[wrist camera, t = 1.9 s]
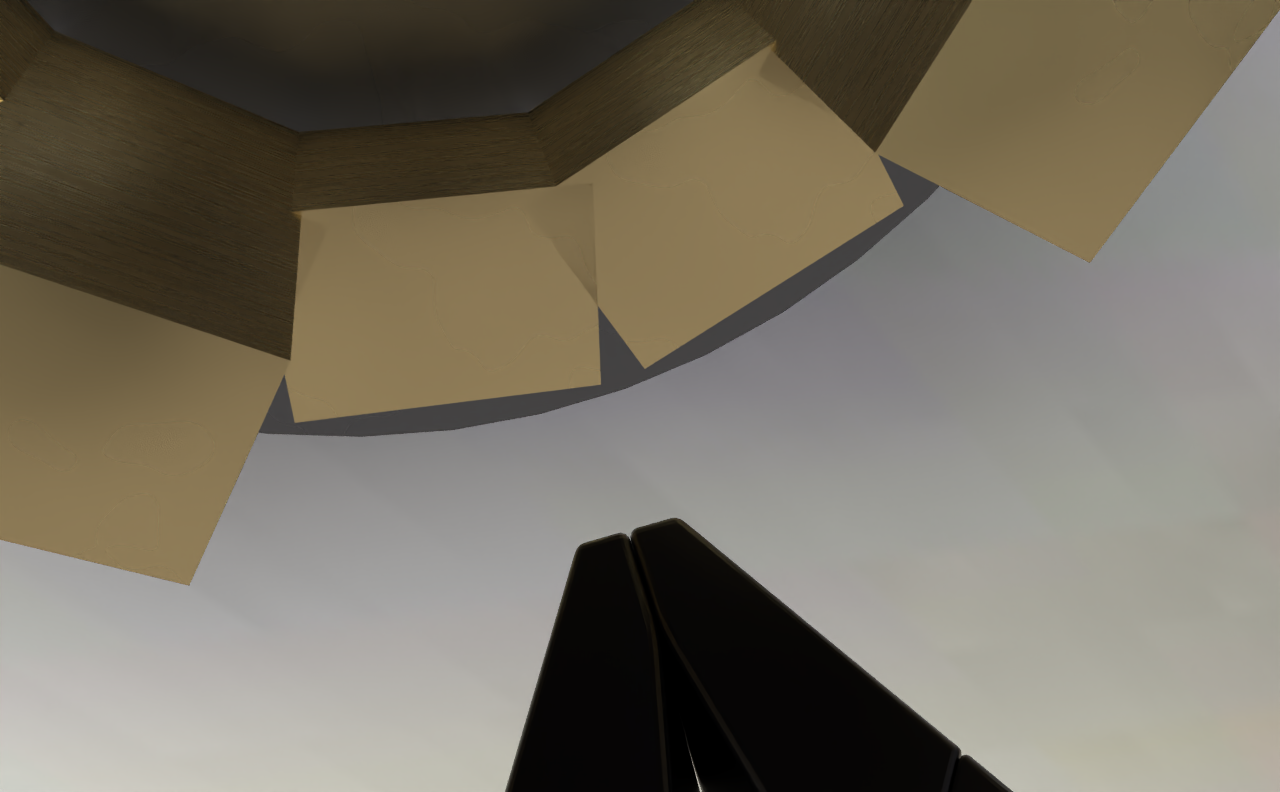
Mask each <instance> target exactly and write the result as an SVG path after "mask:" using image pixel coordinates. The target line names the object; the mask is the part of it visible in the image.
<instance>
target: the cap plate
mask: <svg viewBox="0 0 1280 792" xmlns="http://www.w3.org/2000/svg"><path fill="white" fill-rule="evenodd" d="M27 1H28V3H29V4H30V5H31V6H32V7H33V8H34V9H35V10H36V11H37V12H38V13H39V14H40V15H41V17H42V18H43V19H44V20H45V21H46V22H47V23H48V24H49V25H50V26H51V27H52V28H53V29H54V30H55V31H56V32H59V33H61V34H64V35H66V36H69V37H71V38H73V39H76V40H78V41H81V42H83V43H85V44H88V45H90V46H93V47H95V48H98V49H100V50H102V51H105V52H107V53H110V54H112V55H114V56H117V57H119V58H122V59H124V60H126V61H129V62H131V63H134V64H136V65H139V66H141V67H143V68H146V69H148V70H151V71H153V72H155V73H158V74H160V75H163V76H165V77H168V78H170V79H172V80H175V81H177V82H180V83H182V84H184V85H187V86H189V87H192V88H194V89H196V90H199V91H201V92H204V93H206V94H209V95H211V96H213V97H216V98H218V99H221V100H223V101H225V102H228V103H230V104H233V105H235V106H237V107H240V108H242V109H245V110H247V111H250V112H252V113H254V114H257V115H259V116H262V117H264V118H266V119H269V120H271V121H274V122H276V123H279V124H281V125H283V126H286V127H288V128H291V129H293V130H295V131H298V132H304V131H316V130H328V129H339V128H351V127H363V126H374V125H386V124H398V123H409V122H421V121H433V120H444V119H456V118H468V117H479V116H491V115H503V114H514V113H526V112H529V111H531V110H532V109H534V108H535V107H537V106H538V105H540V104H541V103H542V102H544V101H545V100H547V99H548V98H550V97H551V96H553V95H554V94H556V93H557V92H559V91H560V90H562V89H563V88H565V87H566V86H568V85H569V84H571V83H572V82H574V81H575V80H577V79H578V78H580V77H581V76H583V75H584V74H585V73H587V72H588V71H590V70H591V69H593V68H594V67H596V66H597V65H599V64H600V63H602V62H603V61H605V60H606V59H608V58H609V57H611V56H612V55H614V54H615V53H617V52H618V51H620V50H621V49H623V48H624V47H626V46H627V45H628V44H630V43H631V42H633V41H634V40H636V39H637V38H639V37H640V36H642V35H643V34H645V33H646V32H648V31H649V30H651V29H652V28H654V27H655V26H657V25H658V24H660V23H661V22H663V21H664V20H666V19H667V18H669V17H670V16H671V15H673V14H674V13H676V12H677V11H679V10H680V9H682V8H683V7H685V6H686V5H688V4H689V3H691V2H692V1H694V0H27ZM879 157H880V159H881V161H882V163H883V165H884V167H885V169H886V171H887V173H888V175H889V177H890V179H891V181H892V183H893V185H894V187H895V189H896V191H897V193H898V195H899V197H900V199H901V201H902V203H903V205H904V206H903V207H901V208H899V209H898V210H896V211H895V212H893V213H891V214H890V215H888V216H887V217H885V218H884V219H882V220H880V221H879V222H877V223H876V224H874V225H872V226H871V227H869V228H868V229H866V230H865V231H863V232H861V233H860V234H858V235H857V236H855V237H853V238H852V239H850V240H849V241H847V242H845V243H844V244H842V245H841V246H839V247H838V248H836V249H834V250H833V251H831V252H830V253H828V254H826V255H825V256H823V257H822V258H820V259H818V260H817V261H815V262H814V263H812V264H811V265H809V266H807V267H806V268H804V269H803V270H801V271H799V272H798V273H796V274H795V275H793V276H792V277H790V278H788V279H787V280H785V281H784V282H782V283H780V284H779V285H777V286H776V287H774V288H772V289H771V290H769V291H768V292H766V293H765V294H763V295H761V296H760V297H758V298H757V299H755V300H753V301H752V302H750V303H749V304H747V305H746V306H744V307H742V308H741V309H739V310H738V311H736V312H734V313H733V314H731V315H730V316H728V317H726V318H725V319H723V320H722V321H720V322H719V323H717V324H715V325H714V326H712V327H711V328H709V329H707V330H706V331H704V332H703V333H701V334H699V335H698V336H696V337H695V338H693V339H692V340H690V341H688V342H687V343H685V344H684V345H682V346H680V347H679V348H677V349H676V350H674V351H673V352H671V353H669V354H668V355H666V356H665V357H663V358H661V359H660V360H658V361H657V362H655V363H653V364H652V365H650V366H649V367H647V368H646V369H644V367H643V366H642V365H641V363H640V362H639V361H638V359H637V358H636V357H635V355H634V354H633V352H632V351H631V350H630V348H629V347H628V346H627V344H626V343H625V342H624V340H623V339H622V338H621V336H620V335H619V334H618V332H617V331H616V329H615V328H614V327H613V325H612V324H611V323H610V321H609V320H608V319H607V317H606V316H605V315H604V313H603V312H602V311H601V309H600V308H599V307H598V323H599V348H600V374H601V385H594V386H586V387H578V388H570V389H562V390H554V391H546V392H538V393H530V394H522V395H514V396H506V397H498V398H490V399H482V400H474V401H466V402H458V403H450V404H442V405H434V406H426V407H417V408H409V409H401V410H393V411H385V412H377V413H369V414H361V415H353V416H345V417H337V418H329V419H321V420H313V421H305V422H297V423H295V421H294V417H293V412H292V407H291V402H290V398H289V393H288V388H287V383H286V379H285V374H284V376H283V379H282V381H281V383H280V385H279V388H278V390H277V392H276V394H275V396H274V399H273V401H272V403H271V405H270V407H269V410H268V412H267V414H266V416H265V419H264V421H263V423H262V425H261V427H260V430H259V433H267V434H296V435H327V436H358V437H363V436H377V435H390V434H404V433H417V432H431V431H444V430H455V429H460V428H466V427H471V426H477V425H482V424H488V423H493V422H499V421H504V420H510V419H515V418H521V417H526V416H531V415H537V414H542V413H545V412H548V411H552V410H555V409H559V408H562V407H565V406H569V405H572V404H575V403H579V402H582V401H585V400H589V399H592V398H596V397H599V396H602V395H606V394H609V393H612V392H616V391H619V390H622V389H626V388H628V387H630V386H633V385H635V384H637V383H640V382H642V381H645V380H647V379H649V378H652V377H654V376H657V375H659V374H661V373H664V372H666V371H668V370H671V369H673V368H676V367H678V366H680V365H683V364H685V363H687V362H690V361H692V360H695V359H697V358H699V357H702V356H704V355H706V354H708V353H710V352H712V351H714V350H715V349H717V348H719V347H721V346H723V345H724V344H726V343H728V342H730V341H732V340H734V339H735V338H737V337H739V336H741V335H743V334H744V333H746V332H748V331H750V330H752V329H753V328H755V327H757V326H759V325H761V324H762V323H764V322H766V321H768V320H770V319H771V318H773V317H775V316H777V315H779V314H780V313H782V312H784V311H785V310H787V309H788V308H790V307H791V306H793V305H794V304H795V303H797V302H798V301H800V300H801V299H802V298H804V297H805V296H807V295H808V294H810V293H811V292H812V291H814V290H815V289H817V288H818V287H820V286H821V285H822V284H824V283H825V282H827V281H828V280H829V279H831V278H832V277H834V276H835V275H837V274H838V273H839V272H841V271H842V270H844V269H845V268H847V267H848V266H849V265H851V264H852V263H854V262H855V261H856V260H858V259H859V258H860V257H861V256H862V255H864V254H865V253H866V252H867V251H868V250H869V249H870V248H872V247H873V246H874V245H875V244H876V243H877V242H878V241H880V240H881V239H882V238H883V237H884V236H885V235H886V234H888V233H889V232H890V231H891V230H892V229H893V228H894V227H896V226H897V225H898V224H899V223H900V222H901V221H902V220H904V219H905V218H906V217H907V216H908V215H909V214H910V213H912V212H913V211H914V210H915V209H916V208H917V207H918V206H920V205H921V204H922V203H923V202H924V201H925V200H926V199H928V198H929V197H930V195H931V194H932V193H933V192H934V191H935V190H936V189H937V188H938V187H939V185H937V184H935V183H933V182H931V181H929V180H927V179H925V178H923V177H921V176H919V175H917V174H915V173H913V172H912V171H910V170H908V169H906V168H904V167H902V166H900V165H898V164H896V163H894V162H892V161H890V160H888V159H886V158H884V157H882V156H880V155H879Z"/></svg>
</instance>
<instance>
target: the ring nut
mask: <svg viewBox="0 0 1280 792" xmlns="http://www.w3.org/2000/svg"><path fill="white" fill-rule="evenodd" d="M1279 10H1280V0H694V1H692V2H691V3H689V4H688V5H686V6H685V7H683V8H682V9H680V10H679V11H677V12H676V13H674V14H673V15H671V16H670V17H669V18H667V19H666V20H664V21H663V22H661V23H660V24H658V25H657V26H655V27H654V28H652V29H651V30H649V31H648V32H646V33H645V34H643V35H642V36H640V37H639V38H637V39H636V40H634V41H633V42H631V43H630V44H628V45H627V46H626V47H624V48H623V49H621V50H620V51H618V52H617V53H615V54H614V55H612V56H611V57H609V58H608V59H606V60H605V61H603V62H602V63H600V64H599V65H597V66H596V67H594V68H593V69H591V70H590V71H588V72H587V73H585V74H584V75H583V76H581V77H580V78H578V79H577V80H575V81H574V82H572V83H571V84H569V85H568V86H566V87H565V88H563V89H562V90H560V91H559V92H557V93H556V94H554V95H553V96H551V97H550V98H548V99H547V100H545V101H544V102H542V103H541V104H540V105H538V106H537V107H535V108H534V109H532V110H531V111H529V112H526V113H514V114H503V115H491V116H479V117H468V118H456V119H444V120H433V121H421V122H409V123H398V124H386V125H374V126H363V127H351V128H339V129H328V130H316V131H304V132H298V131H295V130H293V129H291V128H288V127H286V126H283V125H281V124H279V123H276V122H274V121H271V120H269V119H266V118H264V117H262V116H259V115H257V114H254V113H252V112H250V111H247V110H245V109H242V108H240V107H237V106H235V105H233V104H230V103H228V102H225V101H223V100H221V99H218V98H216V97H213V96H211V95H209V94H206V93H204V92H201V91H199V90H196V89H194V88H192V87H189V86H187V85H184V84H182V83H180V82H177V81H175V80H172V79H170V78H168V77H165V76H163V75H160V74H158V73H155V72H153V71H151V70H148V69H146V68H143V67H141V66H139V65H136V64H134V63H131V62H129V61H126V60H124V59H122V58H119V57H117V56H114V55H112V54H110V53H107V52H105V51H102V50H100V49H98V48H95V47H93V46H90V45H88V44H85V43H83V42H81V41H78V40H76V39H73V38H71V37H69V36H66V35H64V34H61V33H59V32H56V31H55V30H54V29H53V28H52V27H51V26H50V25H49V24H48V23H47V22H46V21H45V20H44V19H43V18H42V17H41V15H40V14H39V13H38V12H37V11H36V10H35V9H34V8H33V7H32V6H31V5H30V4H29V3H28V1H27V0H0V540H4V541H8V542H12V543H16V544H20V545H24V546H28V547H33V548H37V549H41V550H45V551H49V552H53V553H57V554H61V555H66V556H70V557H74V558H78V559H82V560H86V561H90V562H94V563H98V564H103V565H107V566H111V567H115V568H119V569H123V570H127V571H131V572H136V573H140V574H144V575H148V576H152V577H156V578H160V579H164V580H168V581H173V582H177V583H181V584H185V585H190V582H191V580H192V578H193V576H194V574H195V571H196V569H197V567H198V565H199V563H200V560H201V558H202V556H203V554H204V551H205V549H206V547H207V545H208V543H209V540H210V538H211V536H212V534H213V531H214V529H215V527H216V525H217V523H218V520H219V518H220V516H221V514H222V512H223V509H224V507H225V505H226V503H227V500H228V498H229V496H230V494H231V492H232V489H233V487H234V485H235V483H236V481H237V478H238V476H239V474H240V472H241V469H242V467H243V465H244V463H245V461H246V458H247V456H248V454H249V452H250V450H251V447H252V445H253V443H254V441H255V438H256V436H257V434H258V432H259V430H260V427H261V425H262V423H263V421H264V419H265V416H266V414H267V412H268V410H269V407H270V405H271V403H272V401H273V399H274V396H275V394H276V392H277V390H278V388H279V385H280V383H281V381H282V379H283V376H284V374H285V379H286V383H287V388H288V393H289V398H290V402H291V407H292V412H293V417H294V421H295V423H297V422H305V421H313V420H321V419H329V418H337V417H345V416H353V415H361V414H369V413H377V412H385V411H393V410H401V409H409V408H417V407H426V406H434V405H442V404H450V403H458V402H466V401H474V400H482V399H490V398H498V397H506V396H514V395H522V394H530V393H538V392H546V391H554V390H562V389H570V388H578V387H586V386H594V385H601V374H600V348H599V323H598V307H599V308H600V309H601V311H602V312H603V313H604V315H605V316H606V317H607V319H608V320H609V321H610V323H611V324H612V325H613V327H614V328H615V329H616V331H617V332H618V334H619V335H620V336H621V338H622V339H623V340H624V342H625V343H626V344H627V346H628V347H629V348H630V350H631V351H632V352H633V354H634V355H635V357H636V358H637V359H638V361H639V362H640V363H641V365H642V366H643V367H644V369H646V368H647V367H649V366H650V365H652V364H653V363H655V362H657V361H658V360H660V359H661V358H663V357H665V356H666V355H668V354H669V353H671V352H673V351H674V350H676V349H677V348H679V347H680V346H682V345H684V344H685V343H687V342H688V341H690V340H692V339H693V338H695V337H696V336H698V335H699V334H701V333H703V332H704V331H706V330H707V329H709V328H711V327H712V326H714V325H715V324H717V323H719V322H720V321H722V320H723V319H725V318H726V317H728V316H730V315H731V314H733V313H734V312H736V311H738V310H739V309H741V308H742V307H744V306H746V305H747V304H749V303H750V302H752V301H753V300H755V299H757V298H758V297H760V296H761V295H763V294H765V293H766V292H768V291H769V290H771V289H772V288H774V287H776V286H777V285H779V284H780V283H782V282H784V281H785V280H787V279H788V278H790V277H792V276H793V275H795V274H796V273H798V272H799V271H801V270H803V269H804V268H806V267H807V266H809V265H811V264H812V263H814V262H815V261H817V260H818V259H820V258H822V257H823V256H825V255H826V254H828V253H830V252H831V251H833V250H834V249H836V248H838V247H839V246H841V245H842V244H844V243H845V242H847V241H849V240H850V239H852V238H853V237H855V236H857V235H858V234H860V233H861V232H863V231H865V230H866V229H868V228H869V227H871V226H872V225H874V224H876V223H877V222H879V221H880V220H882V219H884V218H885V217H887V216H888V215H890V214H891V213H893V212H895V211H896V210H898V209H899V208H901V207H903V206H904V205H903V203H902V201H901V199H900V197H899V195H898V193H897V191H896V189H895V187H894V185H893V183H892V181H891V179H890V177H889V175H888V173H887V171H886V169H885V167H884V165H883V163H882V161H881V159H880V157H879V155H880V156H882V157H884V158H886V159H888V160H890V161H892V162H894V163H896V164H898V165H900V166H902V167H904V168H906V169H908V170H910V171H912V172H913V173H915V174H917V175H919V176H921V177H923V178H925V179H927V180H929V181H931V182H933V183H935V184H937V185H939V186H941V187H943V188H945V189H947V190H949V191H951V192H953V193H954V194H956V195H958V196H960V197H962V198H964V199H966V200H968V201H970V202H972V203H974V204H976V205H978V206H980V207H982V208H984V209H986V210H988V211H990V212H992V213H994V214H995V215H997V216H999V217H1001V218H1003V219H1005V220H1007V221H1009V222H1011V223H1013V224H1015V225H1017V226H1019V227H1021V228H1023V229H1025V230H1027V231H1029V232H1031V233H1033V234H1035V235H1036V236H1038V237H1040V238H1042V239H1044V240H1046V241H1048V242H1050V243H1052V244H1054V245H1056V246H1058V247H1060V248H1062V249H1064V250H1066V251H1068V252H1070V253H1072V254H1074V255H1076V256H1077V257H1079V258H1081V259H1083V260H1085V261H1087V262H1089V263H1090V262H1091V261H1092V259H1093V258H1094V257H1095V255H1096V254H1097V253H1098V251H1099V250H1100V249H1101V247H1102V246H1103V245H1104V243H1105V242H1106V241H1107V239H1108V238H1109V237H1110V235H1111V234H1112V233H1113V231H1114V230H1115V229H1116V227H1117V226H1118V225H1119V223H1120V222H1121V221H1122V219H1123V218H1124V217H1125V215H1126V214H1127V213H1128V211H1129V210H1130V209H1131V207H1132V206H1133V205H1134V203H1135V202H1136V201H1137V199H1138V198H1139V197H1140V195H1141V194H1142V193H1143V191H1144V190H1145V189H1146V187H1147V186H1148V185H1149V183H1150V182H1151V181H1152V179H1153V178H1154V177H1155V175H1156V174H1157V173H1158V171H1159V170H1160V169H1161V167H1162V166H1163V165H1164V163H1165V162H1166V161H1167V159H1168V158H1169V157H1170V155H1171V154H1172V153H1173V151H1174V150H1175V149H1176V147H1177V146H1178V145H1179V143H1180V142H1181V141H1182V139H1183V138H1184V137H1185V135H1186V134H1187V133H1188V131H1189V130H1190V129H1191V127H1192V126H1193V125H1194V123H1195V122H1196V121H1197V119H1198V118H1199V117H1200V115H1201V114H1202V113H1203V111H1204V110H1205V109H1206V107H1207V106H1208V105H1209V103H1210V102H1211V101H1212V99H1213V98H1214V97H1215V95H1216V94H1217V93H1218V91H1219V90H1220V89H1221V87H1222V86H1223V85H1224V83H1225V82H1226V81H1227V79H1228V78H1229V77H1230V75H1231V74H1232V73H1233V71H1234V70H1235V69H1236V67H1237V66H1238V65H1239V63H1240V62H1241V61H1242V59H1243V58H1244V57H1245V55H1246V54H1247V53H1248V51H1249V50H1250V49H1251V47H1252V46H1253V45H1254V43H1255V42H1256V41H1257V39H1258V38H1259V37H1260V35H1261V34H1262V33H1263V31H1264V30H1265V29H1266V27H1267V26H1268V25H1269V23H1270V22H1271V21H1272V19H1273V18H1274V17H1275V15H1276V14H1277V13H1278V11H1279Z"/></svg>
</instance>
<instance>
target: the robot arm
mask: <svg viewBox="0 0 1280 792" xmlns="http://www.w3.org/2000/svg"><path fill="white" fill-rule="evenodd" d="M630 537H631V541H630V539H629V537H628V536H627V535H626V534H623V533H618V534H614V535H610V536H607V537H603V538H600V539H596V540H593V541H589V542H586V543H583V544H581V545H580V546H579V547H578V548H577V550H576V552H575V555H574V558H573V561H572V565H571V568H570V572H569V575H568V578H567V582H566V585H565V589H564V592H563V596H562V599H561V602H560V606H559V609H558V613H557V616H556V619H555V623H554V626H553V630H552V633H551V637H550V640H549V643H548V647H547V650H546V654H545V657H544V660H543V664H542V667H541V671H540V674H539V677H538V681H537V684H536V688H535V691H534V695H533V698H532V701H531V705H530V708H529V712H528V715H527V718H526V722H525V725H524V729H523V732H522V736H521V739H520V742H519V746H518V749H517V753H516V756H515V759H514V763H513V766H512V770H511V773H510V776H509V780H508V783H507V787H506V790H505V792H700V791H699V787H698V783H697V779H696V775H697V778H698V781H699V784H700V787H701V790H702V792H1013V791H1012V790H1011V789H1009V788H1008V787H1007V786H1005V785H1004V784H1003V783H1002V782H1001V781H999V780H998V779H997V778H996V777H995V776H993V775H992V774H991V773H990V772H989V771H987V770H986V769H985V768H984V767H983V766H981V765H980V764H979V763H978V762H977V761H975V760H974V759H973V758H972V757H970V756H969V755H963V756H961V750H960V748H959V747H958V746H956V745H955V744H954V743H953V742H952V741H950V740H949V739H948V738H947V737H945V736H944V735H943V734H942V733H941V732H939V731H938V730H937V729H936V728H935V727H933V726H932V725H931V724H930V723H928V722H927V721H926V720H925V719H924V718H922V717H921V716H920V715H919V714H918V713H916V712H915V711H914V710H913V709H911V708H910V707H909V706H908V705H907V704H905V703H904V702H903V701H902V700H900V699H899V698H898V697H897V696H896V695H894V694H893V693H892V692H891V691H890V690H888V689H887V688H886V687H885V686H883V685H882V684H881V683H880V682H879V681H877V680H876V679H875V678H874V677H873V676H871V675H870V674H869V673H868V672H866V671H865V670H864V669H863V668H862V667H860V666H859V665H858V664H857V663H856V662H854V661H853V660H852V659H851V658H849V657H848V656H847V655H846V654H845V653H843V652H842V651H841V650H840V649H839V648H837V647H836V646H835V645H834V644H832V643H831V642H830V641H829V640H828V639H826V638H825V637H824V636H823V635H822V634H820V633H819V632H818V631H817V630H815V629H814V628H813V627H812V626H811V625H809V624H808V623H807V622H806V621H804V620H803V619H802V618H801V617H800V616H798V615H797V614H796V613H795V612H794V611H792V610H791V609H790V608H789V607H787V606H786V605H785V604H784V603H783V602H781V601H780V600H779V599H778V598H777V597H775V596H774V595H773V594H772V593H770V592H769V591H768V590H767V589H766V588H764V587H763V586H762V585H761V584H760V583H758V582H757V581H756V580H755V579H753V578H752V577H751V576H750V575H749V574H747V573H746V572H745V571H744V570H743V569H741V568H740V567H739V566H738V565H736V564H735V563H734V562H733V561H732V560H730V559H729V558H728V557H727V556H726V555H724V554H723V553H722V552H721V551H719V550H718V549H717V548H716V547H715V546H713V545H712V544H711V543H710V542H708V541H707V540H706V539H705V538H704V537H702V536H701V535H700V534H699V533H698V532H696V531H695V530H694V529H693V528H691V527H690V526H689V525H688V524H687V523H685V522H684V521H682V520H681V519H678V518H670V519H667V520H663V521H660V522H656V523H653V524H649V525H646V526H642V527H639V528H636V529H634V530H633V532H632V533H631V536H630ZM689 751H690V752H689ZM691 758H692V759H691ZM692 761H693V763H692ZM693 765H694V767H693ZM694 768H695V771H696V775H695V771H694Z"/></svg>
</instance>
